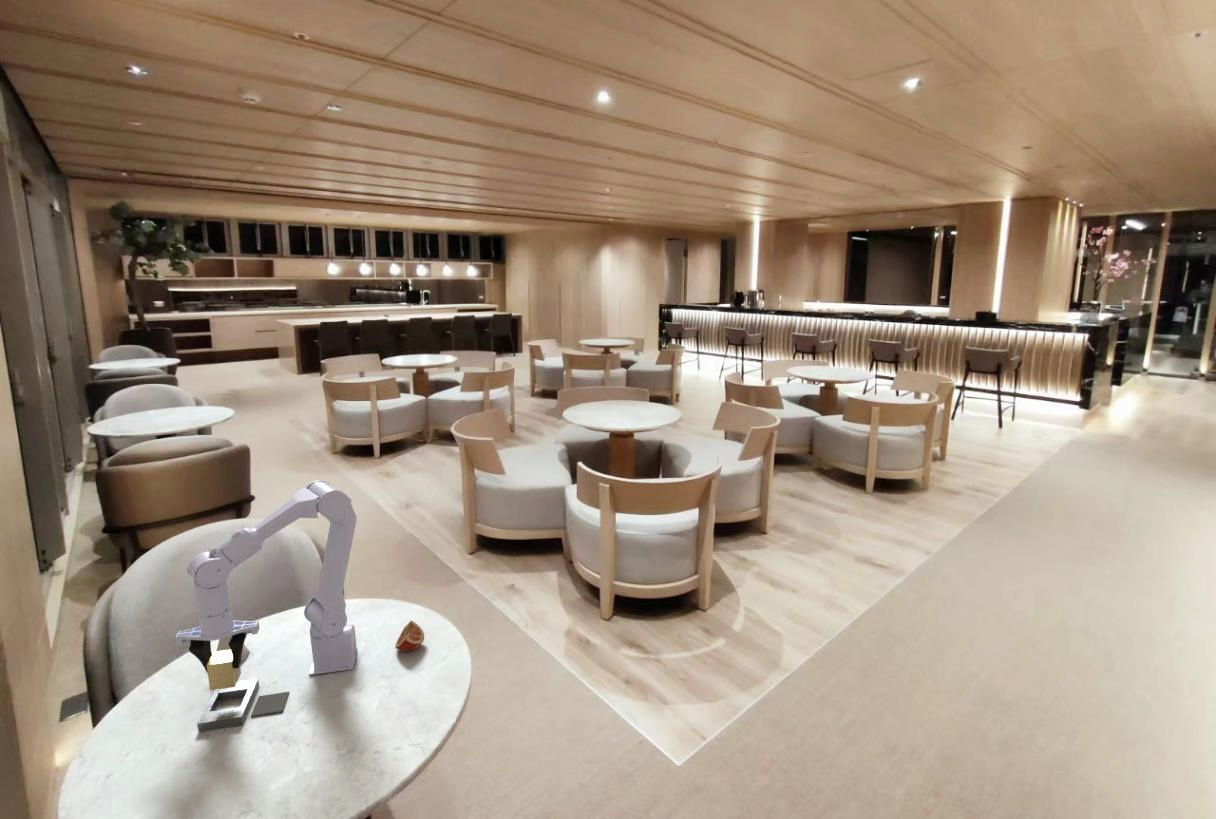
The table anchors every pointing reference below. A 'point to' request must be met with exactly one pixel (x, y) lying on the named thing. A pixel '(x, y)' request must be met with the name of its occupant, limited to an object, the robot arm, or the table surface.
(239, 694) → the gray rectangular frame
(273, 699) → the flat gray plate
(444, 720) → the table surface
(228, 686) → the block
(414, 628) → the fruit slice
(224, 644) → the flask
